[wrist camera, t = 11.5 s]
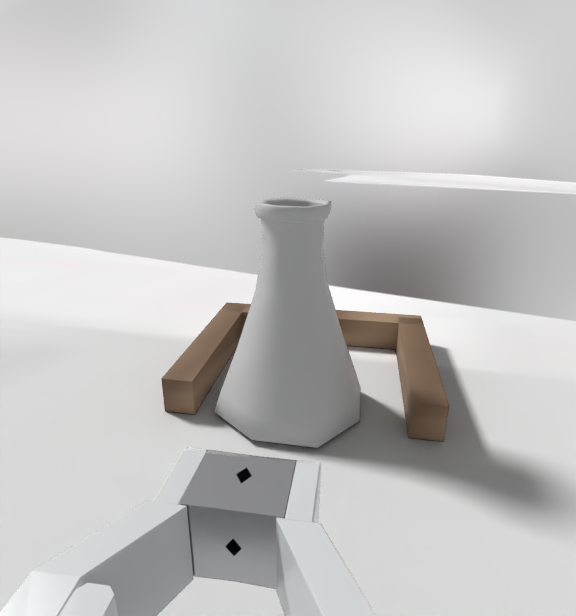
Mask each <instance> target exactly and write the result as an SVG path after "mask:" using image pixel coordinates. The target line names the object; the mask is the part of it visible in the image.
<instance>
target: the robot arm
mask: <svg viewBox="0 0 576 616" xmlns="http://www.w3.org/2000/svg"><path fill="white" fill-rule="evenodd" d="M320 481H321V463H320V462H315V461H304V460H289V459H279V458H270V457H260V456H252V455H245V454H237V453H230V452H223V451H216V450H205V449H198V448H191V447H187V448H186V449H184V450H183V451H182V453H181V454H180V456H179V458H178V460H177V461H176V463H175V465H174V467H173V468H172V470H171V472H170V473H169V475H168V477H167V479H166V480H165V482H164V484H163V486H162V487H161V489H160V491H159V492H158V494H157V496H156V498H155V499H154V501H145V502H143V503H142V504H140V505H139V506H137V507H135V508H134V509H132V510H130V511H129V512H127V513H125V514H124V515H122V516H121V517H119V518H117V519H116V520H114V521H112V522H111V523H109V524H108V525H106V526H104V527H103V528H101V529H99V530H98V531H96V532H94V533H93V534H91V535H90V536H88V537H86V538H85V539H83V540H81V541H80V542H78V543H77V544H75V545H73V546H72V547H70V548H68V549H67V550H65V551H63V552H62V553H60V554H59V555H57V556H55V557H54V558H52V559H50V560H49V561H47V562H46V563H44V564H42V565H41V566H39V567H37V568H36V569H34V570H32V571H31V573H30V574H29V575H28V577H27V578H26V579H25V581H24V582H23V583H22V584H21V586H20V587H19V588H18V590H17V591H16V592H15V594H14V595H13V596H12V597H11V599H10V600H9V601H8V603H7V604H6V605H5V607H4V608H3V609H2V610H1V612H0V616H157V615H158V614H159V613H160V612H161V611H162V610H163V609H164V608H165V607H166V606H167V605H168V604H169V603H170V602H171V601H172V600H173V599H174V598H175V597H176V596H177V595H178V594H179V593H180V592H181V591H182V590H183V589H184V588H185V587H186V586H187V585H188V584H189V583H190V582H191V581H192V580H193V576H195V577H203V578H211V579H219V580H227V581H235V582H240V583H246V584H251V585H257V586H262V587H267V588H273V589H276V591H277V594H278V597H279V600H280V603H281V606H282V609H283V612H284V614H285V616H376V615H375V613H374V611H373V610H372V608H371V606H370V605H369V603H368V601H367V600H366V598H365V596H364V595H363V593H362V591H361V590H360V588H359V586H358V585H357V583H356V581H355V580H354V578H353V576H352V575H351V573H350V571H349V570H348V568H347V566H346V565H345V563H344V561H343V560H342V558H341V556H340V555H339V553H338V551H337V550H336V548H335V546H334V545H333V543H332V541H331V540H330V538H329V536H328V535H327V533H326V531H325V530H324V528H323V526H322V525H321V524H320V523H318V519H319V502H320Z"/></svg>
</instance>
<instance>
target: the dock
mask: <svg viewBox="0 0 576 616" xmlns="http://www.w3.org/2000/svg"><path fill="white" fill-rule="evenodd" d="M250 306H251V304H240V303H226V304H225V305H224V306H223V308H222V309H221V310H220V311H219V312H218V313H217V315H216V316H215V317H214V318H213V319H212V320H211V322H210V323H209V324H208V325H207V326H206V327H205V329H204V330H203V331H202V332H201V333H200V334H199V336H198V337H197V338H196V339H195V340H194V341H193V343H192V344H191V345H190V346H189V347H188V348H187V350H186V351H185V352H184V353H183V354H182V355H181V357H180V358H179V359H178V360H177V361H176V362H175V364H174V365H173V366H172V367H171V368H170V369H169V371H168V372H167V373H166V374H165V375H164V376H163V378H162V387H163V397H164V406H165V411H169V412H178V413H187V414H195V413H196V411H197V410H198V408H199V406H200V405H201V403H202V402H203V400H204V398H205V397H206V395H207V394H208V392H209V390H210V389H211V387H212V386H213V384H214V382H215V381H216V379H217V378H218V376H219V374H220V373H221V371H222V370H223V368H224V366H225V365H226V363H227V362H228V360H229V358H230V357H231V355H232V354H233V352H234V350H235V349H236V347H237V346H238V343H239V340H240V337H241V334H242V331H243V328H244V325H245V321H246V318H247V315H248V312H249V309H250ZM336 313H337V317H338V320H339V324H340V327H341V330H342V334H343V337H344V340H345V343H346V345H350V346H362V347H375V348H387V349H396V354H397V361H398V368H399V375H400V382H401V389H402V396H403V403H404V410H405V417H406V424H407V431H408V438H417V439H427V440H436V441H443V440H444V434H445V428H446V422H447V416H448V410H449V405H448V401H447V398H446V395H445V392H444V389H443V385H442V382H441V379H440V376H439V372H438V369H437V366H436V363H435V360H434V356H433V353H432V350H431V347H430V344H429V340H428V337H427V334H426V331H425V327H424V324H423V321H422V318H421V316H416V315H401V314H386V313H372V312H357V311H342V310H336Z"/></svg>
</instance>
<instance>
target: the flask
mask: <svg viewBox="0 0 576 616" xmlns="http://www.w3.org/2000/svg"><path fill="white" fill-rule="evenodd" d="M330 210H331V201H328V200H320V199H313V198H295V197H280V198H271V199H263V200H260V201H258V202H257V203H255V213H256V215H257V217H258V218H261V222H262V255H261V261H260V268H259V273H258V278H257V284H256V290H255V294H254V297H253V300H252V303H251V306H250V309H249V312H248V315H247V318H246V321H245V325H244V328H243V331H242V334H241V337H240V340H239V343H238V346H237V349H236V351H235V354H234V357H233V360H232V362H231V365H230V368H229V370H228V373H227V376H226V378H225V381H224V384H223V387H222V389H221V392H220V395H219V398H218V401H217V404H216V407H215V410H214V412H215V413H216V414H218V415H219V416H220V417H222V418H223V419H224V420H226V421H227V422H228V423H230V424H231V425H232V426H234V427H235V428H236V429H238V430H239V431H241V432H242V433H243V434H245V435H246V436H247V437H249V438H250V439H251V440H257V441H265V442H274V443H282V444H290V445H299V446H307V447H315V448H318V447H320V446H321V445H323V444H324V443H326V442H327V441H329V440H330V439H332V438H334V437H335V436H337V435H338V434H340V433H341V432H343V431H344V430H346V429H347V428H349V427H350V426H352V425H354V424H355V423H357V422H358V421H360V393H361V388H360V385H359V381H358V378H357V375H356V372H355V369H354V366H353V363H352V360H351V357H350V354H349V351H348V348H347V345H346V343H345V340H344V337H343V334H342V330H341V327H340V324H339V320H338V317H337V313H336V310H335V307H334V303H333V300H332V297H331V293H330V290H329V286H328V280H327V273H326V265H325V258H324V250H323V236H324V220H325V219H326V218H327V217H328V215H329V213H330Z"/></svg>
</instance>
